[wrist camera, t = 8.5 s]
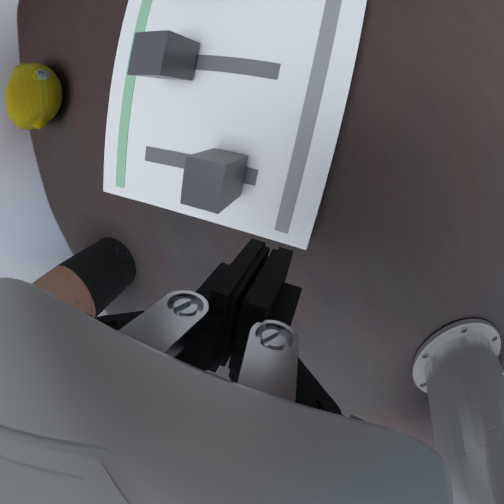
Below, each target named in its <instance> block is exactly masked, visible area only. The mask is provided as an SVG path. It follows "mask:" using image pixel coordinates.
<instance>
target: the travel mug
mask: <svg viewBox="0 0 504 504" xmlns="http://www.w3.org/2000/svg"><path fill="white" fill-rule="evenodd" d="M134 277H135V265H134V261H133V259H132V256H131V255H130V253H129V251H128V250H127V249H126V247H125V246H124V245H122V244H121V243H120V242H119V241H117V240H115V239H112V238H105V239H102V240H100V241H98V242H96V243H95V244H93V245H91V246H89V247H88V248H86V249H84V250H82V251H81V252H79V253H77V254H76V255H74V256H72V257H71V258H69V259H67V260H66V261H64V262H62V263H61V264H59V265H58V266H56V267H55V268H53V269H52V270H50V271H49V272H47V273H46V274H45V275H43V276H42V277H40V278H39V279H38V280H37V281H35V282H33V283H32V284H33V285H35V286H38V287H40V288H42V289H44V290H45V291H47V292H49V293H51V294H52V295H54V296H56V297H58V298H59V299H61V300H63V301H65V302H67V303H68V304H70V305H72V306H73V307H75V308H77V309H79V310H80V311H82V312H84V313H87V314H90V315H93V318H96V317H97V316H98V315H99V314H100V313H101V312H102V311H103V310H104V309H105V308H106V307H107V306H108V305H109V304H110V303H111V302H112V301H113V300H114V299H115V298H116V297H117V296H118V295H119V294H120V293H121V292H122V291H123V290H124V289H125V288H126V287H127V286H128V285H129V284H130V283H131V282H132V281H133V279H134Z"/></svg>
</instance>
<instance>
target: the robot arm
mask: <svg viewBox="0 0 504 504" xmlns="http://www.w3.org/2000/svg"><path fill="white" fill-rule="evenodd" d="M268 254H269V247H266V246H265V242H262V241H259V240H255V239H251V240H250V241H249V242H248V244H247V245H246V246H245V247H244V249H243V250H242V251H241V252H240V253H239V255H238V256H237V257H236V258H235V260H234V261H233V262H232V263H231V265H228V264H225V263H221V264H220V265H219V266H218V267H217V268H216V269H215V270H214V272H213V273H212V274H211V275H210V276H209V277H208V278H207V280H206V281H205V282H204V283H203V284H202V285H201V286H200V288H199V289H198V290H197V291H196V292H193V291H187V290H180V291H175V292H172V293H170V294H168V295H166V296H165V297H164V298H162V299H161V300H159V301H158V302H157V303H155V304H154V305H153V306H151V307H150V308H148V309H147V310H146V311H139V312H130V313H122V314H114V315H105V316H100V317H97V318H93V315H90V314H87V313H84V312H82V311H80V310H79V309H77V308H75V307H73V306H72V305H70V304H68V303H67V302H65V301H63V300H61V299H59V298H58V297H56V296H54V295H52V294H51V293H49V292H47V291H45V290H44V289H42V288H40V287H38V286H35V285H33V284H31V283H28V282H25V281H22V280H18V279H13V278H0V504H504V368H502V366H501V364H500V362H499V359H498V356H499V354H500V350H501V339H500V335H499V333H498V331H497V329H496V328H495V327H494V325H493V324H491V323H490V322H488V321H486V320H483V319H474V318H473V319H464V320H461V321H457V322H454V323H452V324H450V325H447V326H445V327H444V328H442V329H440V330H439V331H437V332H436V333H435V334H433V335H432V336H431V337H429V339H428V340H427V341H426V342H425V343H424V344H423V345H422V346H421V347H420V349H419V350H418V352H417V353H416V355H415V357H414V360H413V364H412V375H413V380H414V382H415V384H416V386H417V387H418V388H419V389H421V390H422V391H423V392H426V393H428V400H429V407H430V415H431V423H432V432H433V443H434V449H433V448H431V447H430V446H428V445H427V444H425V443H423V442H421V441H420V440H418V439H416V438H414V437H412V436H410V435H407V434H405V433H402V432H400V431H397V430H394V429H391V428H388V427H385V426H382V425H378V424H374V423H370V422H367V421H364V420H362V419H360V418H357V417H355V416H353V415H350V417H346V416H344V415H342V413H341V410H340V409H339V407H338V405H337V404H336V403H335V402H334V401H333V399H332V398H331V397H330V396H329V395H328V393H327V392H326V391H325V390H324V388H323V387H322V386H321V385H320V384H319V382H318V381H317V380H316V379H315V377H314V376H313V375H312V374H311V372H310V371H309V370H308V369H307V368H306V366H305V365H304V364H303V363H302V361H301V360H300V359H299V358H298V347H299V340H298V335H297V334H296V332H295V331H294V330H293V329H292V328H291V327H290V326H291V323H292V320H293V316H294V313H295V310H296V307H297V303H298V300H299V297H300V294H301V290H302V288H300V287H297V286H294V285H291V284H288V283H285V280H286V276H287V273H288V269H289V265H290V262H291V258H292V254H293V251H292V250H288V249H285V248H282V247H279V249H278V250H276V249H273V250H272V252H271V254H270V255H269V257H268ZM267 258H268V259H267ZM230 356H231V357H230ZM229 357H230V362H229V369H230V372H229V377H230V379H231V381H230V380H227V379H225V378H222V377H219V376H217V375H214V374H212V373H209V372H207V371H205V370H210V371H212V372H216V371H217V369H218V367H219V365H221V366H225V365H226V363H227V361H228V359H229Z"/></svg>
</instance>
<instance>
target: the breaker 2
mask: <svg viewBox="0 0 504 504" xmlns="http://www.w3.org/2000/svg"><path fill="white" fill-rule="evenodd" d="M247 161H248V155H244V154H240V153H235V152H231V151H226V150H221V149H216V148H213V149H209V150H205V151H202V152H198V153H195V154H191V155H188V156H186V157H185V165H184V173H183V182H182V190H181V200H180V204H184V205H187V206H191V207H195V208H198V209H202V210H205V211H209V212H212V213H216V214H219V213H220V212H221V211H223V210H224V209H225V208H226V207H228V206H229V205H230V204H231V203H232V202H234V201H235V200H236V199H237V198H239V197H240V196H241V192H242V187H243V181H244V176H245V171H246V166H247Z"/></svg>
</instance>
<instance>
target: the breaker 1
mask: <svg viewBox="0 0 504 504" xmlns="http://www.w3.org/2000/svg"><path fill="white" fill-rule="evenodd" d="M199 44H200V43H199V42H196V41H194V40H192V39H189V38H187V37H184V36H182V35H180V34H177V33H175V32H172V31H169V30H163V31H147V32H136V33H135V36H134V41H133V45H132V50H131V56H130V61H129V67H128V72H127V75H133V76H143V77H152V78H160V79H176V80H190V81H192V79H193V73H194V68H195V63H196V58H197V53H198V48H199Z"/></svg>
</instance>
